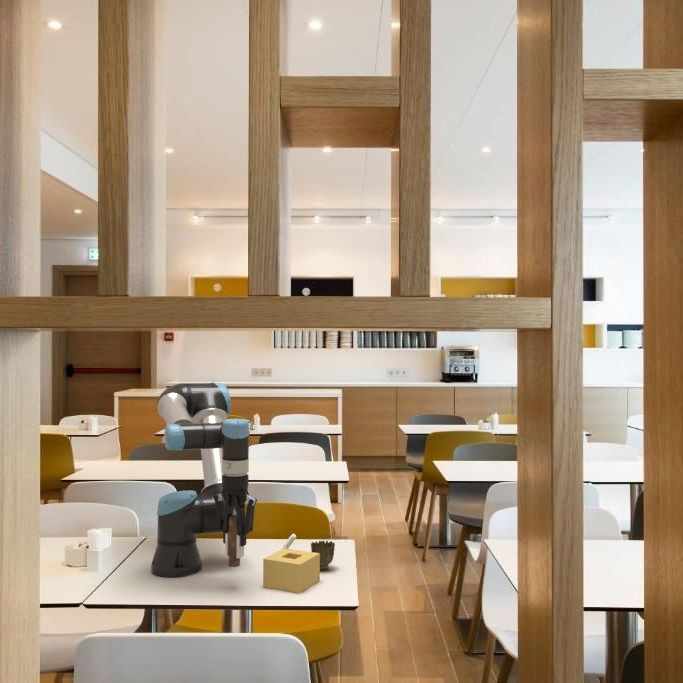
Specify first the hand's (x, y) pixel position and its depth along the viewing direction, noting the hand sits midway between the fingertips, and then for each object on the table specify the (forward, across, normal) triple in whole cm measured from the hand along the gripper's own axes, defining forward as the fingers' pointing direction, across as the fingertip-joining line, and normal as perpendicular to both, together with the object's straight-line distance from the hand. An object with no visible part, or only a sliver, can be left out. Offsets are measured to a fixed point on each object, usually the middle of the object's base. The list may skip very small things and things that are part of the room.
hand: (234, 555), depth 206 cm
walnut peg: (+3, 0, 0) cm, 3 cm away
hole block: (+9, +13, +10) cm, 19 cm away
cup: (+9, +15, +26) cm, 31 cm away
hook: (+9, +2, +25) cm, 26 cm away
